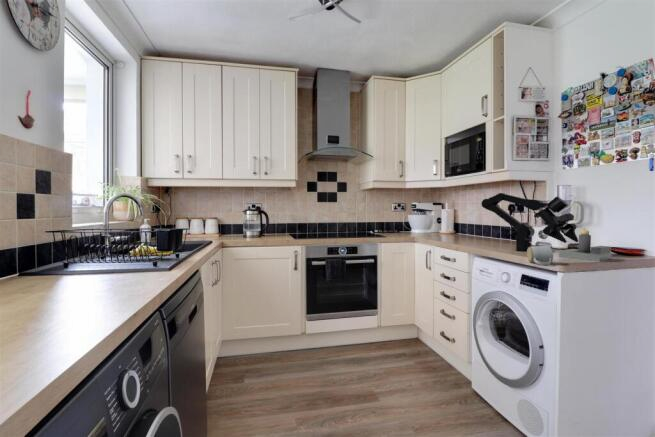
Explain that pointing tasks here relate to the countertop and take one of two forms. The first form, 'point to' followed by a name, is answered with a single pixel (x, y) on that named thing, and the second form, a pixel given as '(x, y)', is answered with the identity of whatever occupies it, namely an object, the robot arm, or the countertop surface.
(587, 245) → the plug
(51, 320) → the countertop surface
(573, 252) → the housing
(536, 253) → the ceramic mug
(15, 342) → the countertop surface
